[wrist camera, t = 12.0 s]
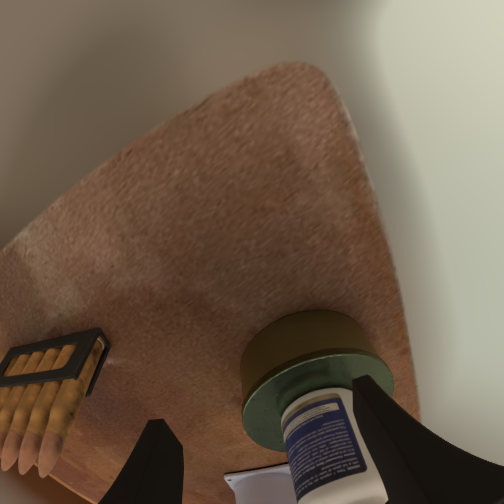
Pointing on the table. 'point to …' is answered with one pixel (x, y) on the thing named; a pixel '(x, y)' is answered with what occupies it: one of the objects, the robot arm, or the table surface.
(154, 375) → the table surface
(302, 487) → the pill bottle
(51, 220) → the table surface
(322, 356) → the tin
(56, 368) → the rifle cartridge clip
